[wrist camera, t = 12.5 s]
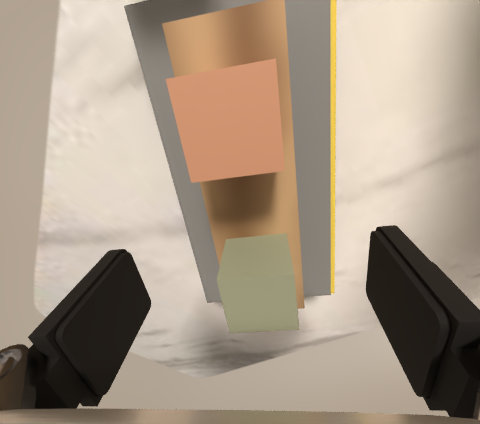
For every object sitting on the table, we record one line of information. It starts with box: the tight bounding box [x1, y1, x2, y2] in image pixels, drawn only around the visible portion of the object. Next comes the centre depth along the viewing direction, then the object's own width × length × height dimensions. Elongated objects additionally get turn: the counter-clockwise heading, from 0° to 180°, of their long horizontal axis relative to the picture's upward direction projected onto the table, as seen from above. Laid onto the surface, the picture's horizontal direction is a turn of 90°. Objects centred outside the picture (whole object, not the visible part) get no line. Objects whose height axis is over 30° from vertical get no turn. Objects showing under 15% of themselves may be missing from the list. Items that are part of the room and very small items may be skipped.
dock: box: [124, 0, 336, 303], centre depth 23 cm, size 13×26×6 cm, turn 9°
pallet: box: [162, 0, 305, 309], centre depth 19 cm, size 6×21×4 cm, turn 9°
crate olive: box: [217, 233, 299, 333], centre depth 17 cm, size 4×4×4 cm
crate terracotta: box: [166, 58, 285, 183], centre depth 13 cm, size 4×4×4 cm
